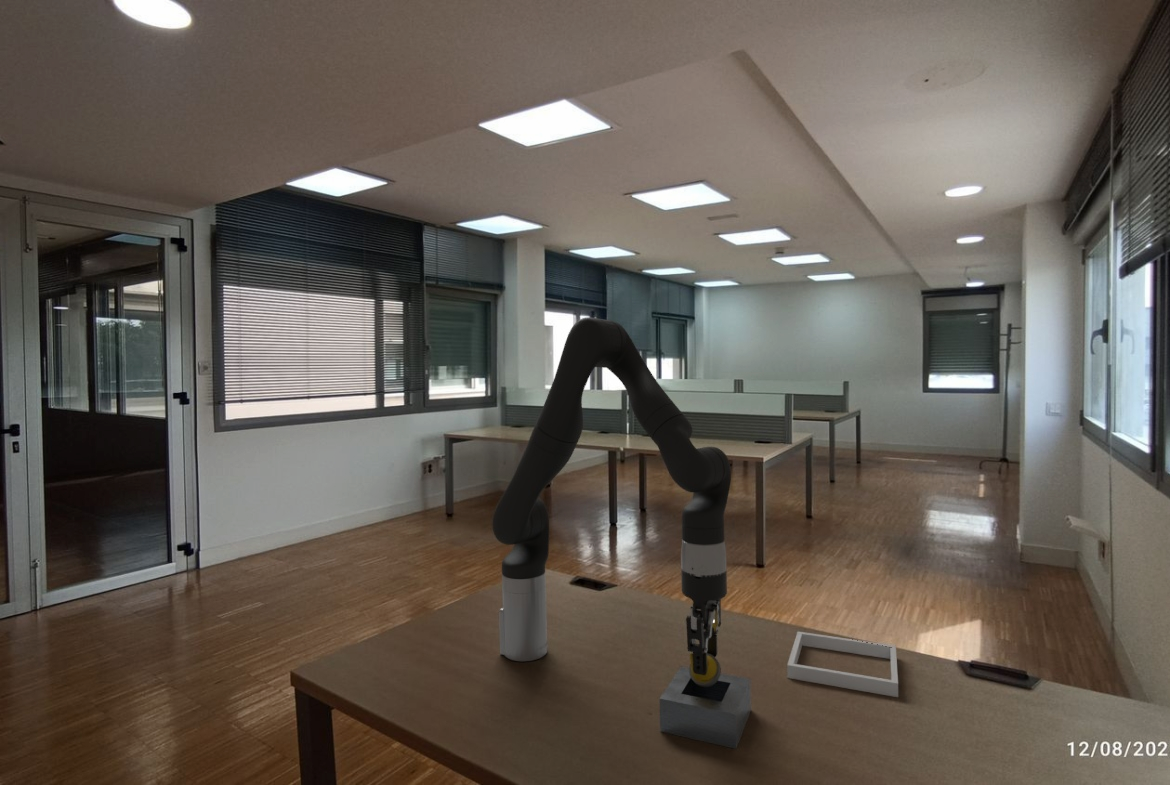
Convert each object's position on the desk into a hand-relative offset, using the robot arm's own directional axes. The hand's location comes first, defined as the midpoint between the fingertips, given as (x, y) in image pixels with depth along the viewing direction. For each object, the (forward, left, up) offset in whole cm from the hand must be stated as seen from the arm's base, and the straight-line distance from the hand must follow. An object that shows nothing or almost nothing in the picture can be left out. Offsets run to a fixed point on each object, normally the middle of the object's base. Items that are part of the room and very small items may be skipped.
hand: (705, 664), depth 105 cm
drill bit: (0, 0, -4) cm, 4 cm away
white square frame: (+20, +29, -10) cm, 37 cm away
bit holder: (0, 0, -10) cm, 10 cm away
